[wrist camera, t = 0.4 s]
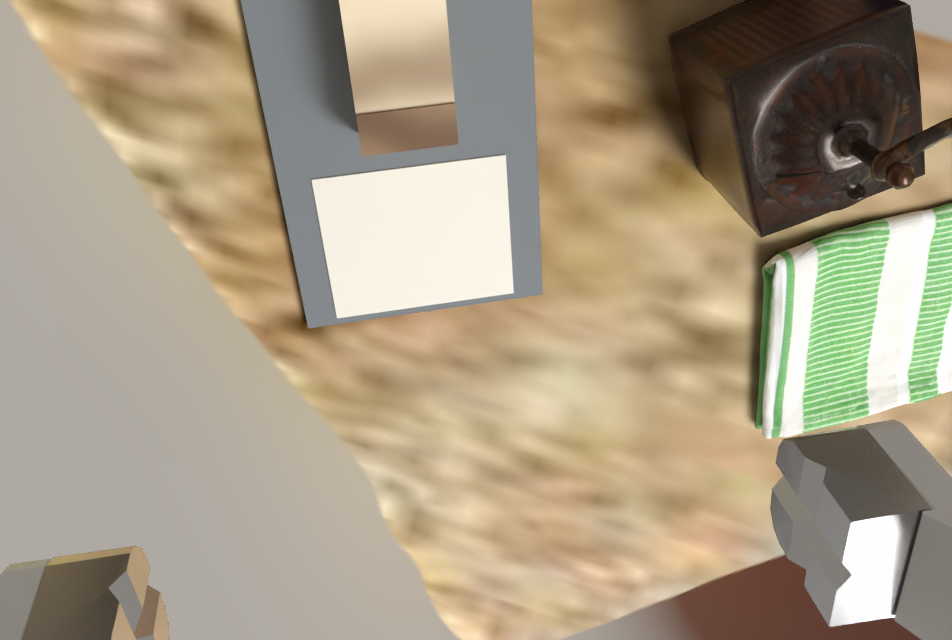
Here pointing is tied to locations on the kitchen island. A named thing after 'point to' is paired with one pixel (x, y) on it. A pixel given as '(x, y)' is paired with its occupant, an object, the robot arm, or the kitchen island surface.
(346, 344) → the kitchen island surface
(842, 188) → the manual coffee grinder
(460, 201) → the mat
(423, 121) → the tan rectangular block
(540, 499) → the kitchen island surface
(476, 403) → the kitchen island surface
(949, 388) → the dish towel
